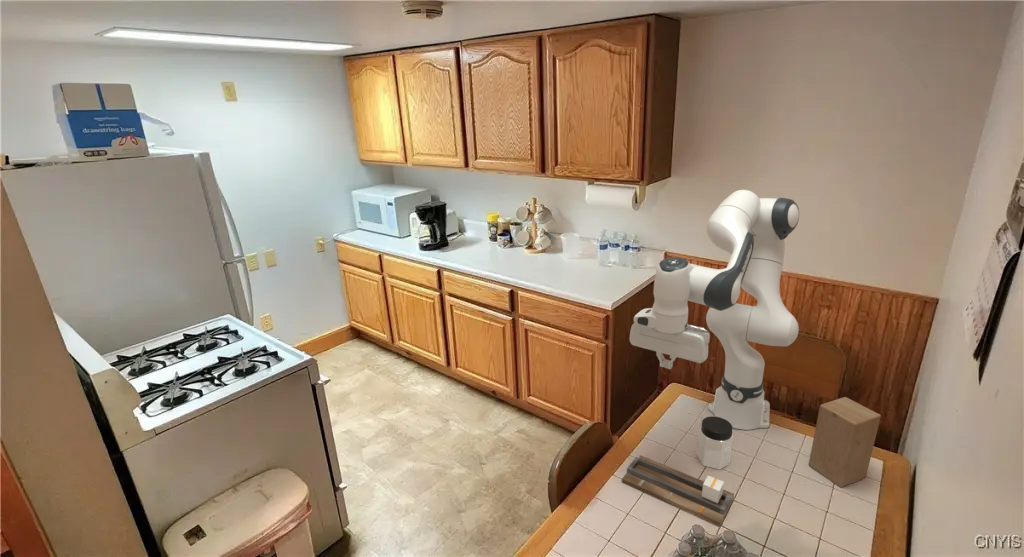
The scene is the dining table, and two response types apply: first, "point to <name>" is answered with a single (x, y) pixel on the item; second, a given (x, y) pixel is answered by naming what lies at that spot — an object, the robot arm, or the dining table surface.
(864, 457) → the wooden block
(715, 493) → the fader knob
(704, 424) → the jar
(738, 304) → the robot arm
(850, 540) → the dining table surface
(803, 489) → the dining table surface
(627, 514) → the dining table surface
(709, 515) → the slider track
